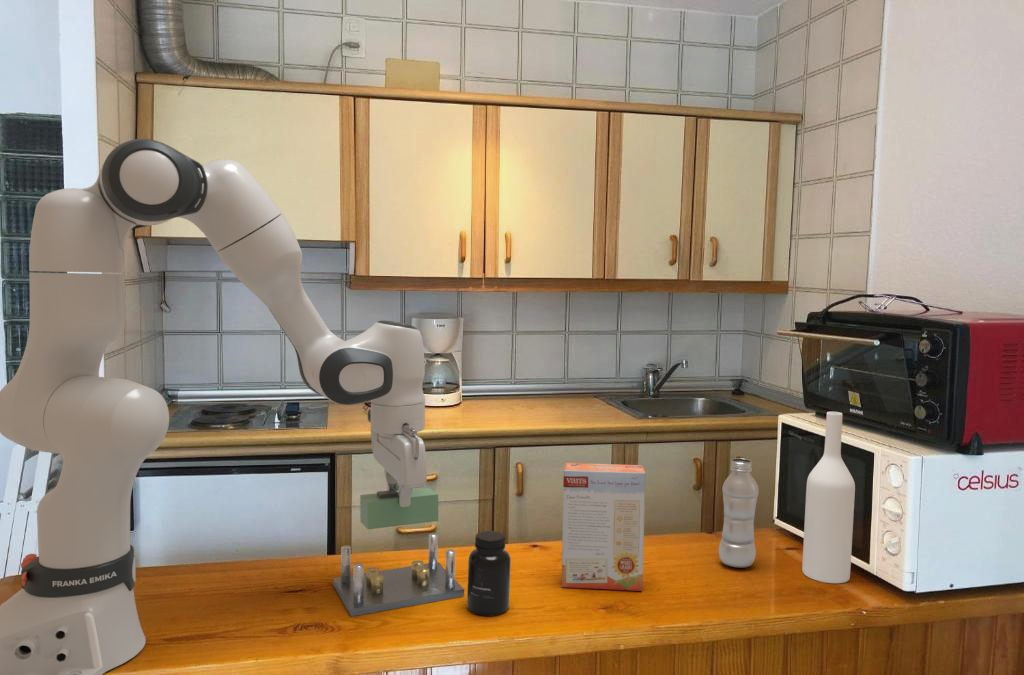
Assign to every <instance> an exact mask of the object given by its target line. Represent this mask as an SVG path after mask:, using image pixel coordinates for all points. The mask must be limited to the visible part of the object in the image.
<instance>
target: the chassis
mask: <svg viewBox="0 0 1024 675" xmlns="http://www.w3.org/2000/svg"><path fill="white" fill-rule="evenodd" d="M438 537H439V535H438V533H435V532H432V533H429V534H428V563H424V561H422V560H413V561H412V562H411V565H410V566H409V565H408V566H402V567H398V568H397V567H395V568H389V569H384V570H379V568H377V567H367V568H366V570H365V571H364V569H365V568H364V564H363V563H357V562H356V563H354V564H353V565H351V564H352V559H351V558H352V555H351V553H352V551H351V550H352V549H351V548H352V546H351V545H347V544H346V545H342V546H341V547H340V576H339V577H334V578H332V583H333V584H332V585H333V588H334V589H335V591H336V593H337V594H338V597H339V598H340V599H341V601H342V604H343V605H344V607H345V608H346V611H347V612H348V614H349V616H350V617H357V616H364V615H368V614H373V613H378V612H379V613H380V612H385V611H390V610H395V609H402V608H406V607H412V606H413V607H414V606H417V605H419V606H420V605H423V604H428V603H434V602H440V601H445V600H451V598H452V599H456V598H455V597H457V598H461V597H460V596H463V597H465V588H464V587H463V586H462V585H461V584H460V583H459V582H458V581H457V580H456V550H455V549H447V550H445V567H444V566H442V565H441V564H440V562H438V559H439V558H438V553H439V552H438V550H439V548H438V545H439V542H438V540H439V538H438ZM351 567H353V568H351ZM351 570H353V572H352V571H351ZM352 573H353V574H352Z"/></svg>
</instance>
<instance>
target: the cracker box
mask: <svg viewBox="0 0 1024 675" xmlns="http://www.w3.org/2000/svg"><path fill="white" fill-rule="evenodd" d="M562 486H563V490H562V523H561V524H562V528H561V530H562V532H561V535H562V537H561V538H562V540H561V587H562V588H573V589H594V590H600V589H601V590H611V591H612V590H615V591H616V590H617V591H633V592H635V591H636V592H643V588H644V587H643V584H644V583H643V581H644V580H643V579H644V542H645V536H644V535H645V506H646V505H645V500H646V499H645V497H646V471H645V468H644V466H643V465H642V464H618V463H617V464H615V463H614V464H613V463H589V462H588V463H586V462H585V463H583V462H564V467H563V485H562Z"/></svg>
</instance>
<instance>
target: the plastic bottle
mask: <svg viewBox="0 0 1024 675" xmlns="http://www.w3.org/2000/svg"><path fill="white" fill-rule="evenodd" d="M752 463H753V461H752V460H751V459H749V458H748V459H747V458H742V457H741V458H740V457H739V458H738V457H737V458H732V459H731V460H730V469H729V470H730V471H731V472H730V474H729V475H727V478H726V479H725V480H724V482H723V485H722V487H721V489H722V501H723V515H724V516H723V527H722V533H721V539H720V542H719V546H718V556H719V559H720V561H721V563H723V564H724V565H725V566H729V567H731V568H738V569H741V568H742V569H743V568H749V567H751V566H752V565H753V563H754V562H755V558H756V554H757V553H756V552H757V551H756V543H755V534H754V533H755V532H754V531H755V530H754V529H755V528H754V527H755V525H754V523H755V515H756V514H755V513H756V506H757V502H758V499H759V498H758V497H759V494H760V493H759V491H760V489H759V485H758V483H757V481H756V480H755V479H754V477H753V476H752V474H751V473H752V472H753V468H752V466H753V464H752Z"/></svg>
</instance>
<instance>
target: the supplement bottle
mask: <svg viewBox="0 0 1024 675" xmlns="http://www.w3.org/2000/svg"><path fill="white" fill-rule="evenodd" d="M474 548H475V549H473V550H472V551H471V552H470V553H469V555H468V562H467V564H468V565H467V592H466V597H467V599H466V600H467V601H466V603H467V604H466V605H467V608H468V610H469V611H470V612H472V613H473V614H475V615H478V614H479V616H483V615H495V616H498V615H497V614H499V615H501V614H500V613H502V614H504V613H505V612H506V611H507V610H508V609H509V606H510V592H511V590H510V588H511V565H512V564H511V562H512V560H511V556H510V554H509V552H508V551H507V550H506V535H505V534H504V533H503V532H500V531H495V530H484V531H479V532H477V533H476V534H475V542H474ZM503 612H504V613H503Z"/></svg>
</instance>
